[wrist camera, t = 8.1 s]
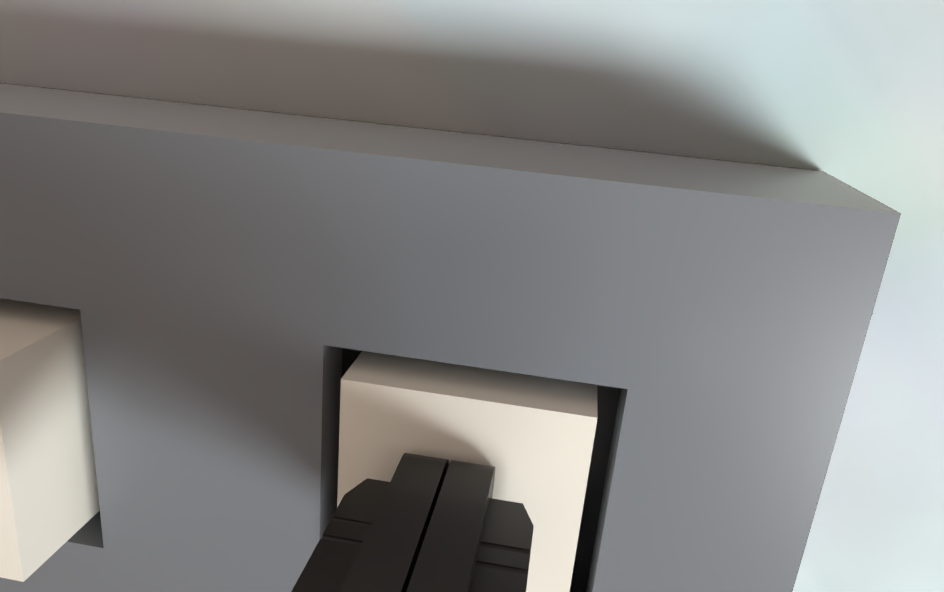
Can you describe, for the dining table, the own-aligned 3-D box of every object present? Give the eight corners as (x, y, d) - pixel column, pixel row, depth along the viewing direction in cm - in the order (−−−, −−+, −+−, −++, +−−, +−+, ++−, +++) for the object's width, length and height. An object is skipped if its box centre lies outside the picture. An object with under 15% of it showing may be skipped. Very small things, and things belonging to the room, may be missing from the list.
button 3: (596, 350, 13) (597, 417, 11) (568, 532, 15) (563, 628, 12) (385, 321, 14) (340, 379, 11) (376, 499, 15) (335, 585, 13)
